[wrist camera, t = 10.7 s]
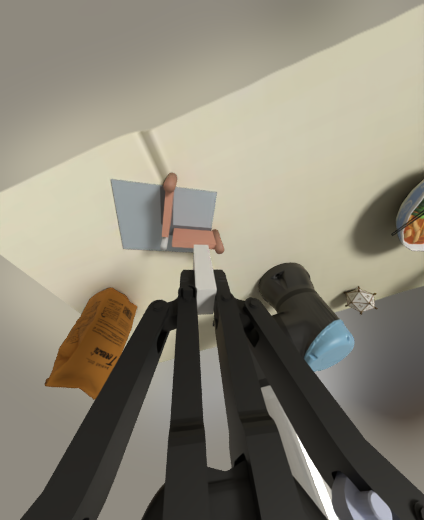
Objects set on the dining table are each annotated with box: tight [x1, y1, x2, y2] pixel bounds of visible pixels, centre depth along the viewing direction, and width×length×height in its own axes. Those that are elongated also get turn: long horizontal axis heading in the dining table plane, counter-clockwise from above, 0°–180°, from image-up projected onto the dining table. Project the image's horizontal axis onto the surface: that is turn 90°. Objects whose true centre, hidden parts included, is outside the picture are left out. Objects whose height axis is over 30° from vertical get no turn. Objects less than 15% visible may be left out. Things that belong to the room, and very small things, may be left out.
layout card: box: [111, 179, 217, 252], centre depth 37 cm, size 15×20×1 cm
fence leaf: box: [162, 173, 177, 237], centre depth 31 cm, size 2×10×7 cm, turn 166°
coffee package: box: [45, 288, 137, 399], centre depth 41 cm, size 10×12×22 cm
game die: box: [344, 286, 377, 314], centre depth 57 cm, size 9×8×10 cm
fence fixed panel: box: [160, 228, 224, 254], centre depth 36 cm, size 2×12×8 cm, turn 82°
